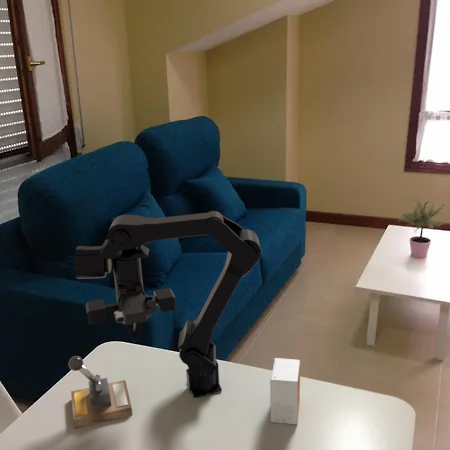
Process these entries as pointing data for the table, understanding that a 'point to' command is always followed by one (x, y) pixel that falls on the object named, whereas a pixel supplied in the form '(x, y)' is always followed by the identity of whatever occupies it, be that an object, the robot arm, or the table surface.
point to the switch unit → (100, 403)
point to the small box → (285, 391)
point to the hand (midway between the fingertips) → (135, 340)
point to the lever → (85, 372)
